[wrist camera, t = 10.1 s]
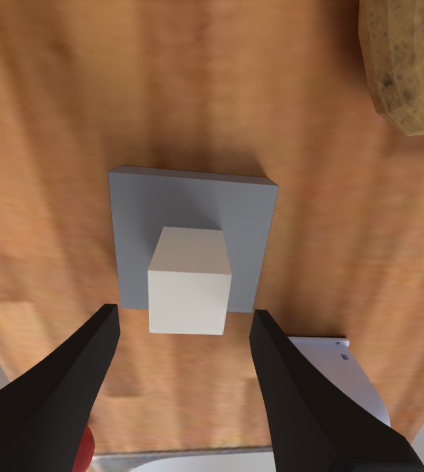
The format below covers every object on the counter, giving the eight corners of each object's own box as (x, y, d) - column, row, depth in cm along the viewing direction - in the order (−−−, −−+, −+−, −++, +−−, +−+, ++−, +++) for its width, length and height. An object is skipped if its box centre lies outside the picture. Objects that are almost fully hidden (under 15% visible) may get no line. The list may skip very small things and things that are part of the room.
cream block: (222, 230, 18) (232, 274, 13) (216, 278, 20) (222, 334, 14) (163, 226, 18) (147, 270, 12) (163, 275, 19) (149, 332, 14)
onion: (51, 417, 32) (8, 502, 25) (84, 404, 31) (50, 488, 24) (79, 436, 34) (47, 518, 27) (111, 425, 34) (87, 506, 26)
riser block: (267, 177, 19) (279, 185, 17) (246, 292, 24) (251, 312, 22) (121, 165, 18) (107, 171, 16) (129, 287, 23) (120, 308, 21)
